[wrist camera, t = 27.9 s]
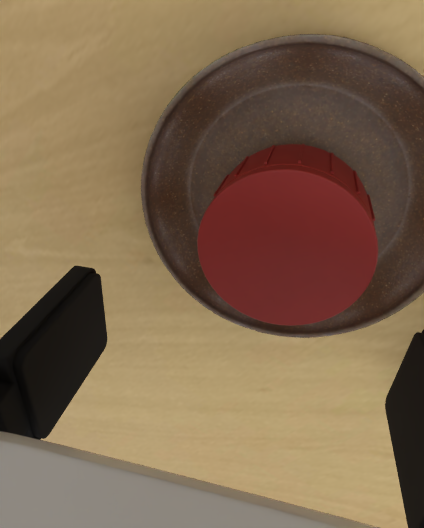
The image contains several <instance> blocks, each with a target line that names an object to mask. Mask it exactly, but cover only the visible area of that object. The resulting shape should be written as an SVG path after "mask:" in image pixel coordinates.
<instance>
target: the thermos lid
mask: <svg viewBox="0 0 424 528" xmlns="http://www.w3.org/2000/svg"><path fill="white" fill-rule="evenodd" d="M213 196H215V197H214V199H213V200H212V202H211V203H210V205H209V206H208V208H207V210H206V211H205V213H204V216H203V218H202V220H201V223H200V227H199V231H198V239H197V246H198V255H199V261H200V264H201V267H202V270H203V272H204V274H205V276H206V278H207V280H208V282H209V283H210V285H211V286H212V288H213V289H214V290H215V291H216V293H217V294H218V295H219V296H220V297H221V298H222V299H223V300H224V301H225V302H227V303H228V304H229V305H230V306H232V307H233V308H235V309H236V310H238V311H239V312H241V313H243V314H245V315H247V316H249V317H251V318H254V319H257V320H259V321H263V322H267V323H271V324H277V325H290V326H293V325H306V324H312V323H316V322H320V321H323V320H326V319H328V318H331V317H333V316H335V315H337V314H339V313H341V312H342V311H344V310H345V309H347V308H348V307H350V306H351V305H352V304H353V303H354V302H355V301H356V300H357V299H358V298H359V297H360V296H361V295H362V294H363V292H364V291H365V290H366V288H367V287H368V285H369V283H370V282H371V280H372V277H373V275H374V273H375V269H376V265H377V261H378V239H377V235H376V231H375V226H374V222H373V221H375V216H374V212H373V208H372V204H371V199H370V195H369V194H368V195H367V193H366V191H365V188H364V186H363V184H362V182H361V181H360V179H359V177H358V176H357V172H356V171H355V170H354V171H353V170H352V168H350V167H349V166H348V165H347V164H346V163H345V162H344V161H342V160H341V159H339V158H338V157H337V156H335V155H334V153H332V152H331V153H329V152H327V151H325V150H322V149H319V148H316V147H313V146H307V145H305V144H302V145H300V144H286V145H278V146H275V145H272V147H269V148H266V149H264V150H261V151H259V152H257V153H255V154H253V155H251V156H249V157H248V156H247V157H246V158H245V159H244V160H243V161H242V162H241V163H240V164H239V165H238V166H237V167H236V168H235V169H234V170H233V171H232V172H231V173H230V175H228V174H227V176H226V177H225V179H224V180H223V182H222V183H221V185H220V186H219V188H218V189H217V191H216V192H215V194H214V195H213Z"/></svg>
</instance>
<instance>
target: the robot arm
mask: <svg viewBox="0 0 424 528" xmlns="http://www.w3.org/2000/svg"><path fill="white" fill-rule="evenodd" d="M106 344H107V331H106V322H105V313H104V304H103V294H102V285H101V277H100V275H99V274H96V271H95V269H93V268H88V267H82V266H74V267H73V268H72V269H71V270H70V271H69V272H68V273H67V274H66V275H65V276H64V277H63V278H62V279H61V280H60V281H59V282H58V283H57V284H56V285H55V286H54V287H53V288H52V289H51V290H49V291H48V292H47V293H46V294H45V295H44V296H43V297H42V298H41V299H40V300H39V301H38V302H37V303H36V304H35V305H34V306H33V307H32V308H31V309H30V310H29V311H28V312H27V313H26V314H25V315H24V316H23V317H22V318H21V319H20V320H19V321H18V322H17V323H16V324H15V325H14V326H13V327H12V328H11V329H10V330H9V331H8V332H7V333H6V334H5V335H4V336H3V337H2V338H1V339H0V528H379V527H375V526H372V525H368V524H365V523H361V522H357V521H354V520H350V519H346V518H342V517H339V516H335V515H331V514H327V513H324V512H320V511H316V510H312V509H308V508H305V507H301V506H297V505H293V504H289V503H286V502H282V501H278V500H274V499H271V498H267V497H263V496H259V495H255V494H251V493H248V492H244V491H240V490H236V489H232V488H228V487H224V486H221V485H217V484H213V483H209V482H205V481H201V480H197V479H194V478H190V477H186V476H182V475H178V474H174V473H170V472H166V471H163V470H159V469H155V468H151V467H147V466H143V465H139V464H135V463H131V462H127V461H123V460H119V459H115V458H111V457H107V456H103V455H99V454H96V453H92V452H88V451H84V450H80V449H76V448H72V447H68V446H64V445H60V444H55V443H51V442H47V441H43V440H40V439H41V438H43V439H44V438H46V437H47V436H48V435H49V434H50V432H51V431H52V429H53V428H54V426H55V424H56V423H57V421H58V420H59V418H60V417H61V415H62V414H63V412H64V411H65V409H66V408H67V406H68V405H69V403H70V401H71V400H72V398H73V397H74V395H75V394H76V392H77V391H78V389H79V388H80V386H81V385H82V383H83V381H84V380H85V378H86V377H87V375H88V374H89V372H90V371H91V369H92V368H93V366H94V365H95V363H96V361H97V360H98V358H99V357H100V355H101V354H102V352H103V351H104V349H105V347H106ZM385 409H386V415H387V420H388V425H389V430H390V435H391V441H392V446H393V451H394V456H395V461H396V467H397V472H398V477H399V482H400V487H401V493H402V498H403V503H404V508H405V514H406V519H407V524H408V528H424V330H423V331H422V333H419V332H417V333H416V334H415V335H414V337H413V339H412V341H411V343H410V346H409V348H408V350H407V352H406V355H405V357H404V359H403V361H402V364H401V366H400V368H399V370H398V372H397V375H396V377H395V379H394V381H393V384H392V386H391V388H390V390H389V393H388V395H387V397H386V403H385Z"/></svg>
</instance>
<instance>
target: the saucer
mask: <svg viewBox="0 0 424 528" xmlns="http://www.w3.org/2000/svg"><path fill="white" fill-rule="evenodd" d="M286 144H300V145H302V144H305V145H307V146H313V147H316V148H319V149H322V150H325V151H327V152H329V153H331V152H332V153H334V155H335V156H337V157H338V158H339V159H341V160H342V161H344V162H345V163H346V164H347V165H348V166H349V167H350V168H352V170H353V171H354V170H355V171H356V172H357V176H358V177H359V179H360V181H361V182H362V184H363V186H364V188H365V191H366V193H367V195H368V194H369V195H370V199H371V204H372V208H373V212H374V216H375V221H373V222H374V226H375V231H376V235H377V239H378V261H377V265H376V269H375V273H374V275H373V277H372V280H371V282H370V283H369V285H368V287H367V288H366V290H365V291H364V292H363V294H362V295H361V296H360V297H359V298H358V299H357V300H356V301H355V302H354V303H353V304H352V305H351V306H350V307H348V308H347V309H345V310H344V311H342V312H341V313H339V314H337V315H335V316H333V317H331V318H328V319H326V320H323V321H320V322H316V323H312V324H306V325H293V326H290V325H277V324H271V323H267V322H263V321H259V320H257V319H254V318H251V317H249V316H247V315H245V314H243V313H241V312H239V311H238V310H236V309H235V308H233V307H232V306H230V305H229V304H228V303H227V302H225V301H224V300H223V299H222V298H221V297H220V296H219V295H218V294H217V293H216V291H215V290H214V289H213V288H212V286H211V285H210V283H209V282H208V280H207V278H206V276H205V274H204V272H203V270H202V267H201V264H200V261H199V255H198V246H197V239H198V231H199V227H200V223H201V220H202V218H203V216H204V213H205V211H206V210H207V208H208V206H209V205H210V203H211V202H212V200H213V199H214V197H215V196H213V195H214V194H215V192H216V191H217V189H218V188H219V186H220V185H221V183H222V182H223V180H224V179H225V177H226V176H227V174H228V175H230V173H231V172H232V171H233V170H234V169H235V168H236V167H237V166H238V165H239V164H240V163H241V162H242V161H243V160H244V159H245V158H246V157H247V156H248V157H249V156H251V155H253V154H255V153H257V152H259V151H261V150H264V149H266V148H269V147H272V145H275V146H278V145H286ZM141 196H142V206H143V212H144V217H145V221H146V226H147V228H148V231H149V235H150V237H151V240H152V242H153V245H154V247H155V249H156V251H157V253H158V255H159V257H160V259H161V260H162V262H163V263H164V265H165V266H166V268H167V269H168V271H169V272H170V273H171V274H172V276H173V277H174V278H175V280H176V281H177V282H178V283H179V284H180V285H181V286H182V288H183V289H185V290H186V291H187V293H189V294H190V295H191V296H192V297H193V298H194V299H195V300H197V301H198V302H199V303H200V304H202V305H203V306H204V307H206V308H207V309H209V310H211V311H212V312H213V313H215V314H217V315H219V316H220V317H222V318H224V319H226V320H228V321H231V322H233V323H235V324H238V325H240V326H243V327H245V328H249V329H252V330H255V331H258V332H262V333H267V334H272V335H278V336H285V337H300V338H305V337H307V338H309V337H322V336H331V335H336V334H342V333H346V332H350V331H354V330H358V329H361V328H364V327H367V326H370V325H372V324H374V323H377V322H379V321H381V320H383V319H385V318H387V317H389V316H391V315H393V314H395V313H396V312H398V311H400V310H401V309H403V308H404V307H406V306H407V305H409V304H410V303H411V302H413V301H414V300H415V299H417V298H418V297H419V296H420V295H421V294H422V293H423V292H424V77H423V76H422V75H421V74H420V73H418V72H417V71H416V70H415V69H413V68H412V67H411V66H409V65H408V64H406V63H405V62H403V61H402V60H400V59H399V58H397V57H395V56H393V55H392V54H389V53H387V52H385V51H383V50H381V49H379V48H377V47H374V46H371V45H369V44H366V43H363V42H359V41H356V40H353V39H349V38H345V37H338V36H334V35H320V34H300V35H290V36H282V37H277V38H272V39H268V40H264V41H260V42H257V43H254V44H251V45H248V46H245V47H242V48H240V49H237V50H235V51H233V52H230V53H228V54H227V55H225V56H223V57H221V58H220V59H218V60H216V61H214V62H213V63H211V64H210V65H209V66H207V67H206V68H204V69H202V70H201V71H200V72H199V73H197V74H196V75H195V76H193V77H192V79H190V80H189V81H188V82H187V83H186V84H185V85H184V86H183V87H182V88H181V90H180V91H179V92H178V93H177V94H176V95H175V97H174V98H173V99H172V101H171V102H170V103H169V104H168V105H167V107H166V109H165V110H164V112H163V113H162V115H161V117H160V119H159V120H158V122H157V124H156V126H155V128H154V131H153V133H152V135H151V138H150V140H149V144H148V147H147V150H146V154H145V158H144V162H143V169H142V179H141Z"/></svg>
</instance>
